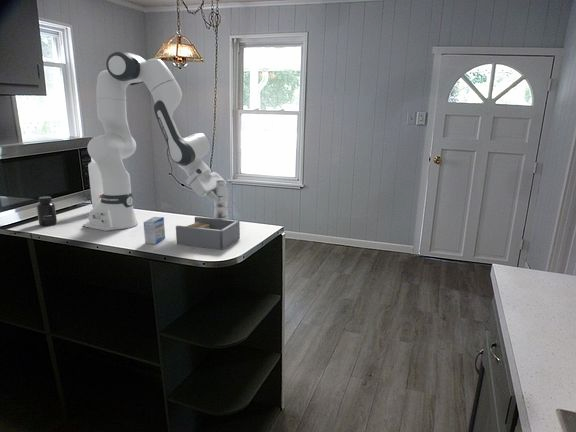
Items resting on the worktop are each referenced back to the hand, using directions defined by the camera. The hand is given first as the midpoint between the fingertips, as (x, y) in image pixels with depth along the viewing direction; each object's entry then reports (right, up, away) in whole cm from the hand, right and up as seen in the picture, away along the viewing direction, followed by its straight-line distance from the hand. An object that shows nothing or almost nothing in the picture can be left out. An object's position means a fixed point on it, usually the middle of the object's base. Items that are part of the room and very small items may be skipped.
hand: (222, 198), depth 170 cm
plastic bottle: (-1, -13, +3) cm, 13 cm away
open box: (-3, -17, -12) cm, 21 cm away
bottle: (-64, -5, +31) cm, 72 cm away
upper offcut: (-8, -14, -11) cm, 20 cm away
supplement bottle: (-77, -11, +7) cm, 78 cm away
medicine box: (-24, -17, -13) cm, 32 cm away
